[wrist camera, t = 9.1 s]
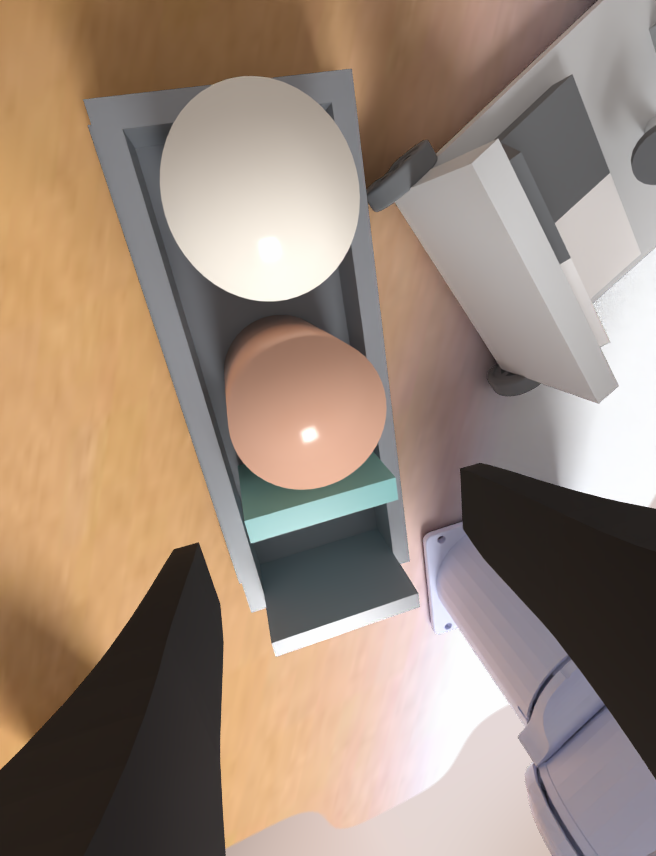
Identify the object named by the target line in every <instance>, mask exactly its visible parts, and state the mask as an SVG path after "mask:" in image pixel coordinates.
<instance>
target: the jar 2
mask: <svg viewBox="0 0 656 856" xmlns="http://www.w3.org/2000/svg"><path fill="white" fill-rule="evenodd" d="M224 384H225V395H226V406H227V418H228V428H229V433H230V438H231V441H232V443H233V446H234V448H235V450H236V452H237V454H238V456H239V457H240V459H241V460H242V461H243V463H244V464H245V465H246V466H247V467H248V468H249V469H250V470H251V471H252V472H253V473H254V474H256V475H257V476H258V477H260V478H262V479H263V480H265V481H267V482H269V483H271V484H274V485H276V486H280V487H283V488H289V489H298V490H306V489H315V488H320V487H324V486H327V485H330V484H333V483H335V482H338V481H340V480H342V479H344V478H345V477H347V476H348V475H350V474H351V473H353V472H354V471H355V470H357V469H358V468H359V467H360V466H361V465H362V464H363V463H364V462H365V461H366V460H367V459H368V457H369V456H370V455H371V453H372V452H373V450H374V449H375V447H376V446H377V444H378V442H379V439H380V437H381V435H382V432H383V429H384V425H385V420H386V410H387V407H386V396H385V390H384V387H383V384H382V381H381V379H380V377H379V375H378V373H377V371H376V370H375V368H374V367H373V365H372V364H371V363H370V361H369V360H368V359H367V358H366V357H365V356H364V355H363V354H361V353H360V352H359V351H358V350H356V349H355V348H353V347H351V346H350V345H348V344H346V343H345V342H343V341H341V340H340V339H338V338H336V337H334V336H333V335H331V334H329V333H327V332H326V331H324V330H322V329H320V328H319V327H317V326H315V325H314V324H312V323H310V322H308V321H306V320H304V319H302V318H299V317H295V316H290V315H273V316H268V317H264V318H261V319H259V320H257V321H255V322H253V323H251V324H249V325H248V326H247V327H245V328H244V329H243V330H242V331H241V332H240V333H239V334H238V335H237V336H236V338H235V339H234V340H233V342H232V343H231V345H230V347H229V349H228V352H227V355H226V358H225V363H224Z"/></svg>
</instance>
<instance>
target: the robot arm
mask: <svg viewBox="0 0 656 856" xmlns="http://www.w3.org/2000/svg"><path fill="white" fill-rule="evenodd" d="M460 475H461V498H462V520H463V522H460V523H457V524H454V525H450V526H447V527H444V528H441V529H438V530H435V531H431V532H429V533H427V534H426V535H425V536H424V538H423V546H424V556H425V566H426V576H427V586H428V596H429V606H430V616H431V626H432V629H433V631H434V633H436V634H443V633H445V632H448V631H451V630H454V629H456V628H458V629H459V630H460V632H461V633H462V635H463V636H464V637H465V639H466V640H467V642H468V643H469V645H470V646H471V648H472V649H473V651H474V652H475V654H476V655H477V657H478V658H479V660H480V661H481V663H482V664H483V666H484V667H485V669H486V670H487V672H488V673H489V674H490V676H491V677H492V679H493V680H494V682H495V683H496V685H497V686H498V688H499V689H500V691H501V692H502V694H503V695H504V697H505V698H506V700H507V701H508V703H509V704H510V705H511V707H512V708H513V710H514V711H515V713H516V714H517V716H518V717H519V719H520V720H521V722H522V723H523V724H524V726H525V729H524V730H523V731H522V732H521V733H520V734H519V735H518V739H519V740H520V742H521V744H522V745H523V747H524V748H525V750H526V751H527V753H528V754H529V756H530V758H531V759H532V761H533V762H532V763H531V764H530V765H529V766H528V767H527V769H526V771H525V783H526V788H527V792H528V801H529V806H530V809H531V812H532V815H533V818H534V821H535V823H536V825H537V828H538V830H539V832H540V834H541V836H542V838H543V840H544V842H545V844H546V846H547V848H548V849H549V851H550V853H551V855H552V856H656V509H654V508H649V507H644V506H638V505H633V504H628V503H623V502H619V501H614V500H610V499H605V498H601V497H597V496H594V495H590V494H586V493H582V492H578V491H574V490H571V489H567V488H564V487H560V486H557V485H554V484H550V483H547V482H544V481H540V480H537V479H534V478H531V477H528V476H524V475H521V474H518V473H515V472H512V471H508V470H505V469H502V468H498V467H495V466H491V465H487V464H482V463H478V464H475V465H471V466H468V467H464V468H461V469H460ZM440 536H442V537H441V538H440V539H438V538H439V537H440ZM222 674H223V630H222V618H221V608H220V602H219V599H218V596H217V593H216V591H215V588H214V585H213V582H212V579H211V576H210V573H209V571H208V568H207V565H206V562H205V559H204V556H203V553H202V550H201V548H200V545H199V542H198V543H195V544H191V545H188V546H184V547H181V548H177V549H174V550H173V552H172V553H171V555H170V556H169V558H168V559H167V561H166V563H165V564H164V566H163V568H162V569H161V571H160V573H159V574H158V576H157V578H156V579H155V581H154V582H153V584H152V586H151V587H150V589H149V591H148V592H147V594H146V595H145V597H144V598H143V600H142V601H141V603H140V605H139V606H138V608H137V609H136V611H135V612H134V614H133V615H132V617H131V618H130V620H129V621H128V623H127V624H126V626H125V627H124V628H123V630H122V631H121V633H120V634H119V635H118V637H117V638H116V640H115V641H114V642H113V644H112V645H111V647H110V648H109V649H108V651H107V652H106V653H105V655H104V656H103V657H102V659H101V660H100V661H99V662H98V664H97V665H96V666H95V667H94V669H93V670H92V671H91V672H90V674H89V675H88V676H87V677H86V678H85V680H84V681H83V682H82V683H81V684H80V686H79V687H78V688H77V689H76V690H75V691H74V693H73V694H72V695H71V696H70V697H69V698H68V700H67V701H66V702H65V703H64V704H63V705H62V706H61V707H60V708H59V709H58V711H57V712H56V713H55V714H54V715H53V716H52V717H51V718H50V719H49V720H48V721H47V722H46V723H45V724H44V725H43V727H42V728H41V729H40V730H39V731H38V732H37V733H36V734H35V735H34V736H33V737H32V738H31V739H30V740H29V741H28V743H27V744H26V745H25V746H24V747H23V748H22V749H21V750H20V751H19V752H18V753H17V754H16V755H15V756H14V757H13V758H12V759H11V760H10V761H9V762H8V763H7V764H6V765H5V766H4V767H3V768H2V769H1V770H0V856H225V855H226V854H225V838H224V823H223V807H222V788H221V769H220V727H221V701H222Z"/></svg>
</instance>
